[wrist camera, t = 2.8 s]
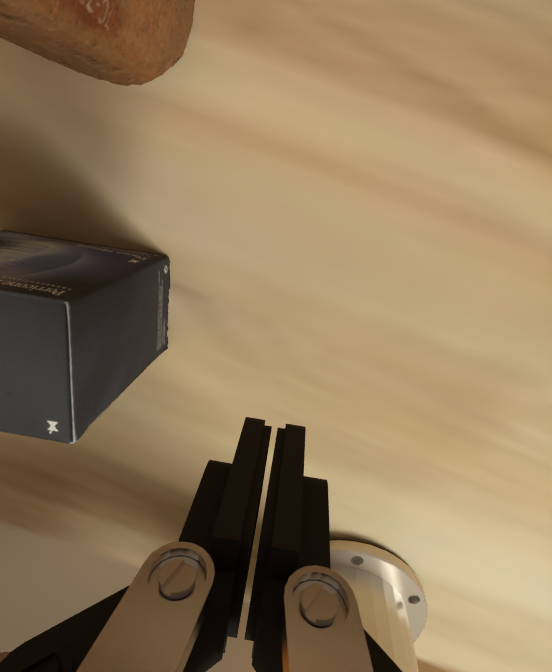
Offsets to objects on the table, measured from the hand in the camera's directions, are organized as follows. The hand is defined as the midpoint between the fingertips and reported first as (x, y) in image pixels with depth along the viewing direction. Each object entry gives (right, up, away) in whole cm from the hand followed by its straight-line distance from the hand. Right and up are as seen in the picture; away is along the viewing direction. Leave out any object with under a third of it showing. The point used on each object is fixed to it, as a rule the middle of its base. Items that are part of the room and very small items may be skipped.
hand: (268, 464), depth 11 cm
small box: (-11, +7, +14) cm, 19 cm away
